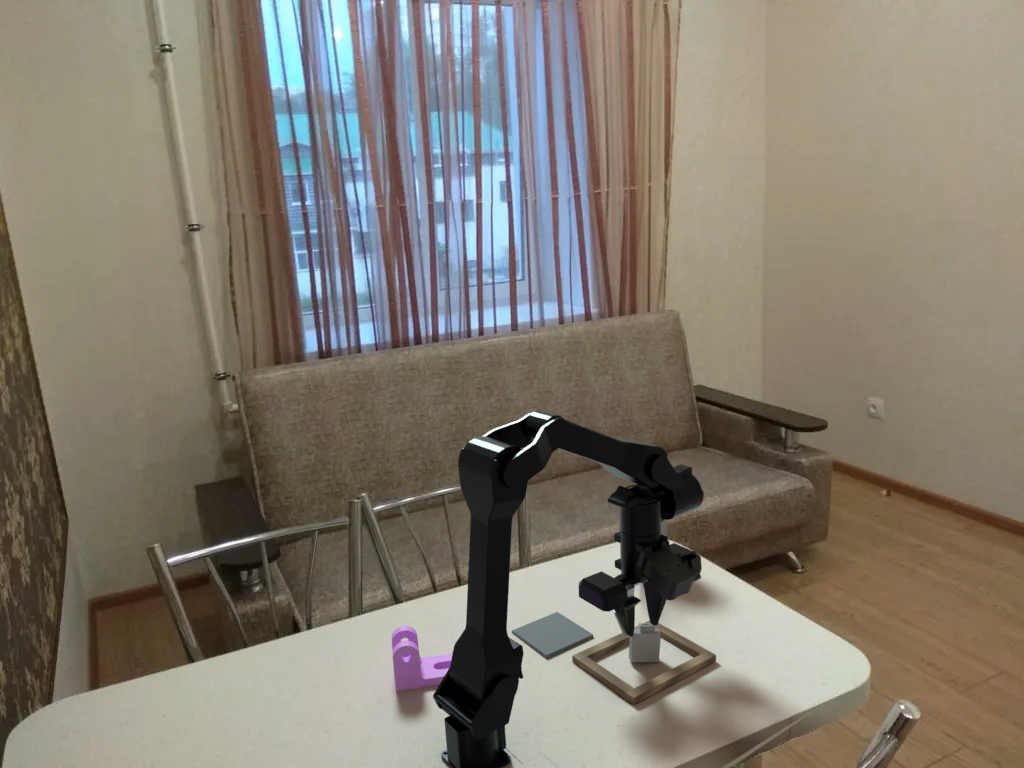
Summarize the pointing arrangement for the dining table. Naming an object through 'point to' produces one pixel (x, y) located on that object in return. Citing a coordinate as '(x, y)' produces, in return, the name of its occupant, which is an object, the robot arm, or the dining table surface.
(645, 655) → the lighter
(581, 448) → the robot arm
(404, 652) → the bracket
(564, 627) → the mat
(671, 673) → the frame
